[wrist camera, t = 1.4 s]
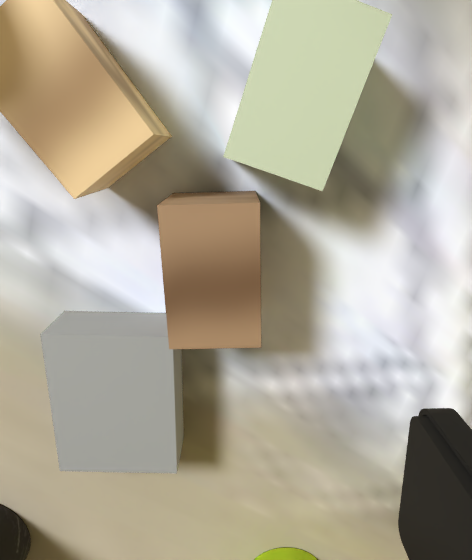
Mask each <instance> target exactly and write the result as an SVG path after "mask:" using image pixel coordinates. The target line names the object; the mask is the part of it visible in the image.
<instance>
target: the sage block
mask: <svg viewBox="0 0 472 560" xmlns="http://www.w3.org/2000/svg"><path fill="white" fill-rule="evenodd" d="M391 16H392V14H389V13H387V12H384V11H382V10H379V9H377V8H374V7H372V6H369V5H367V4H364V3H362V2H359V1H357V0H272V3H271V6H270V9H269V13H268V16H267V19H266V22H265V25H264V29H263V32H262V35H261V38H260V41H259V45H258V48H257V51H256V54H255V57H254V61H253V64H252V67H251V70H250V73H249V77H248V80H247V83H246V86H245V89H244V93H243V96H242V99H241V102H240V105H239V109H238V112H237V115H236V118H235V121H234V125H233V128H232V131H231V134H230V137H229V141H228V144H227V147H226V150H225V153H224V157H225V158H228V159H231V160H234V161H237V162H240V163H243V164H245V165H248V166H251V167H254V168H257V169H260V170H263V171H266V172H268V173H271V174H274V175H277V176H280V177H283V178H286V179H288V180H291V181H294V182H297V183H300V184H303V185H306V186H309V187H311V188H314V189H317V190H320V191H323V189H324V186H325V184H326V181H327V179H328V176H329V174H330V171H331V169H332V166H333V164H334V161H335V159H336V156H337V153H338V151H339V148H340V146H341V143H342V141H343V138H344V136H345V133H346V131H347V128H348V126H349V123H350V120H351V118H352V115H353V113H354V110H355V108H356V105H357V103H358V100H359V98H360V95H361V92H362V90H363V87H364V85H365V82H366V80H367V77H368V75H369V72H370V70H371V67H372V65H373V62H374V59H375V57H376V54H377V52H378V49H379V47H380V44H381V42H382V39H383V37H384V34H385V32H386V29H387V26H388V24H389V21H390V19H391Z"/></svg>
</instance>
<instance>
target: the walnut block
mask: <svg viewBox="0 0 472 560" xmlns="http://www.w3.org/2000/svg"><path fill="white" fill-rule="evenodd" d="M157 211H158V223H159V235H160V247H161V258H162V270H163V282H164V294H165V306H166V318H167V330H168V342H169V349H211V348H257V347H261V262H260V201H259V199H258V196H257V194H256V191H237V192H198V193H173V194H172V195H170V196H169V197H168V198H166V199H165V200H164V201H162V202H161V203H160V204H158V205H157Z"/></svg>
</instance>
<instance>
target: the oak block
mask: <svg viewBox="0 0 472 560" xmlns="http://www.w3.org/2000/svg"><path fill="white" fill-rule="evenodd" d="M0 112H1V113H2V114H3V115H4V116H5V117H6V119H7V120H8V121H9V122H10V123H11V125H12V126H13V127H14V128H15V129H16V131H17V132H18V133H19V134H20V135H21V136H22V138H23V139H24V140H25V141H26V142H27V144H28V145H29V146H30V147H31V148H32V149H33V151H34V152H35V153H36V154H37V155H38V157H39V158H40V159H41V160H42V161H43V163H44V164H45V165H46V166H47V167H48V168H49V170H50V171H51V172H52V173H53V174H54V176H55V177H56V178H57V179H58V180H59V181H60V183H61V184H62V185H63V186H64V187H65V189H66V190H67V191H68V192H69V193H70V195H71V196H72V197H73V198H74V199H76V198H79V197H82V196H85V195H88V194H91V193H94V192H97V191H100V190H103V189H106V188H109V187H110V186H111V185H112V184H114V183H115V182H116V181H117V180H118V179H120V178H121V177H122V176H123V175H125V174H126V173H127V172H128V171H130V170H131V169H132V168H133V167H135V166H136V165H137V164H138V163H140V162H141V161H142V160H143V159H145V158H146V157H147V156H148V155H150V154H151V153H152V152H153V151H154V150H156V149H157V148H158V147H159V146H161V145H162V144H163V143H164V142H166V141H167V140H168V139H169V138H171V137H172V136H171V135H170V133H169V132H168V131H167V129H166V128H165V126H164V125H163V124H162V122H161V121H160V120H159V118H158V117H157V116H156V114H155V113H154V112H153V110H152V109H151V107H150V106H149V105H148V103H147V102H146V101H145V99H144V98H143V97H142V95H141V94H140V93H139V91H138V90H137V89H136V87H135V86H134V84H133V83H132V82H131V80H130V79H129V78H128V76H127V75H126V74H125V72H124V71H123V70H122V68H121V67H120V66H119V64H118V63H117V61H116V60H115V59H114V57H113V56H112V55H111V53H110V52H109V51H108V49H107V48H106V47H105V45H104V44H103V43H102V41H101V40H100V38H99V37H98V36H97V34H96V33H95V32H94V30H93V29H92V28H91V26H90V25H89V24H88V22H87V21H86V20H85V18H84V17H83V15H82V14H81V13H80V12H79V11H77V10H76V9H75V8H74V7H73V6H71V5H70V4H69V3H68V2H67V1H65V0H6V1H5V2H4V3H3V4H2V5H1V6H0Z"/></svg>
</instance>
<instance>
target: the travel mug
mask: <svg viewBox="0 0 472 560" xmlns="http://www.w3.org/2000/svg"><path fill="white" fill-rule="evenodd" d="M29 548H30V534H29V531H28V529H27V527H26V525H25V524H24V522H23V521H22V520H21V519H20V517H19V516H17V515H16V514H15V513H14V512H13V511H11V510H10V509H8V508H7V507H5V506H3V505H1V504H0V560H25V559H26V557H27V554H28V552H29Z"/></svg>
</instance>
